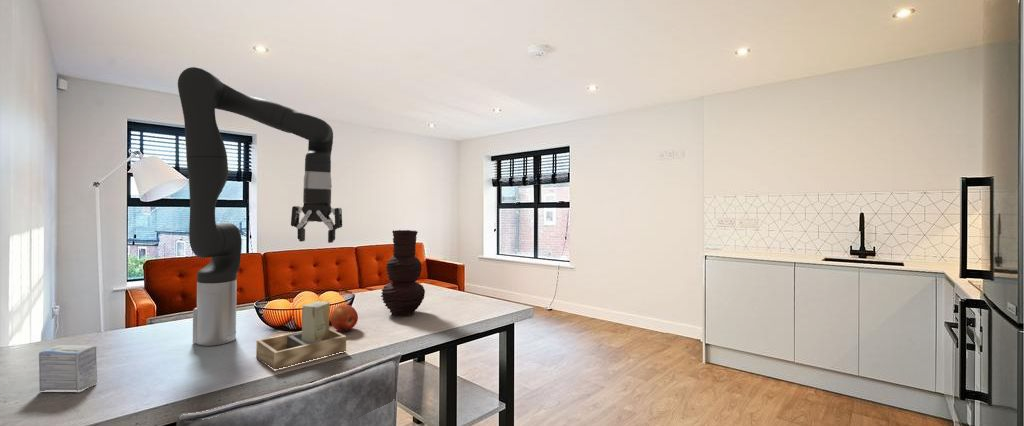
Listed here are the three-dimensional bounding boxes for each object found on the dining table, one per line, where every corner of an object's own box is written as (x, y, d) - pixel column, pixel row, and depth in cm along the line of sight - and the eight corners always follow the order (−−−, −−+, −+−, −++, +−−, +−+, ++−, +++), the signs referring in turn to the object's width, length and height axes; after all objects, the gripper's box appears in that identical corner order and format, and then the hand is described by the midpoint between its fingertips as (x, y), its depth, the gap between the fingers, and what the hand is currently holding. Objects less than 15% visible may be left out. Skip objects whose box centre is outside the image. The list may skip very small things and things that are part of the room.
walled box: (274, 371, 103) (275, 352, 103) (256, 357, 111) (256, 340, 111) (345, 352, 117) (346, 336, 117) (324, 341, 125) (325, 326, 125)
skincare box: (315, 353, 113) (316, 307, 113) (300, 352, 114) (301, 306, 114) (329, 345, 120) (330, 301, 119) (315, 343, 120) (316, 300, 120)
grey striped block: (98, 384, 93) (98, 345, 93) (77, 394, 89) (77, 352, 89) (60, 383, 93) (60, 344, 93) (38, 393, 89) (37, 351, 88)
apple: (354, 325, 141) (354, 301, 141) (360, 332, 134) (361, 307, 134) (327, 328, 137) (328, 303, 136) (333, 336, 130) (333, 310, 129)
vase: (380, 308, 161) (382, 228, 160) (421, 307, 166) (424, 229, 165) (380, 320, 147) (382, 232, 145) (426, 318, 151) (429, 233, 150)
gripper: (287, 186, 124) (286, 242, 125) (336, 188, 125) (335, 244, 125) (299, 186, 132) (298, 239, 133) (346, 188, 132) (345, 241, 133)
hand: (316, 241), depth 129 cm, fingers open, 8 cm apart
